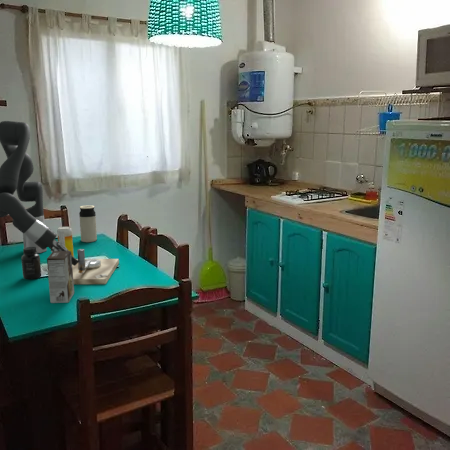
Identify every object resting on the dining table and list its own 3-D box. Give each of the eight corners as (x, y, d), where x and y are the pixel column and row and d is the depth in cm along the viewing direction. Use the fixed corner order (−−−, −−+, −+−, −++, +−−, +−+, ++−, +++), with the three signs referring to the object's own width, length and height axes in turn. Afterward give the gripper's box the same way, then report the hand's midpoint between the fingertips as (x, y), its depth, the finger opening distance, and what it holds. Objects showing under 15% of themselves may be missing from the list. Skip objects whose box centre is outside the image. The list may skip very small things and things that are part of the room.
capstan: (81, 262, 201) (79, 238, 199) (102, 262, 202) (101, 238, 200) (68, 278, 181) (66, 252, 179) (92, 278, 182) (90, 252, 179)
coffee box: (56, 293, 172) (53, 250, 168) (74, 293, 172) (71, 250, 169) (49, 303, 163) (45, 258, 159) (68, 302, 163) (65, 257, 160)
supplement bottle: (45, 275, 192) (42, 246, 189) (33, 280, 185) (30, 251, 183) (31, 273, 194) (28, 245, 191) (19, 278, 187) (16, 249, 185)
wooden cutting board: (52, 284, 181) (52, 278, 181) (72, 263, 208) (72, 258, 207) (106, 284, 182) (106, 278, 181) (119, 263, 208) (119, 258, 208)
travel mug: (100, 239, 249) (98, 205, 245) (89, 243, 242) (87, 208, 238) (88, 238, 252) (86, 204, 248) (77, 241, 245) (75, 207, 241)
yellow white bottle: (76, 258, 215) (73, 226, 211) (70, 262, 209) (68, 229, 205) (63, 258, 215) (60, 226, 212) (57, 262, 209) (54, 229, 206)
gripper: (46, 230, 171) (83, 261, 177) (48, 223, 183) (83, 252, 189) (31, 246, 170) (69, 276, 176) (34, 237, 183) (70, 265, 189)
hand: (76, 263), depth 183 cm, fingers closed
